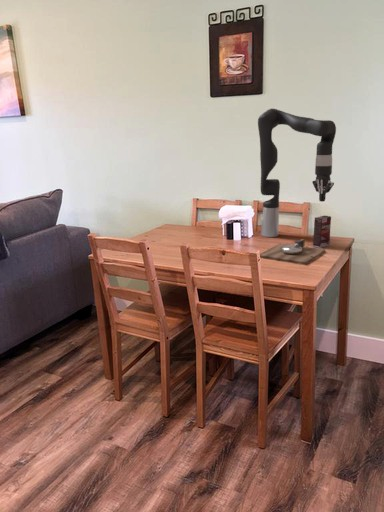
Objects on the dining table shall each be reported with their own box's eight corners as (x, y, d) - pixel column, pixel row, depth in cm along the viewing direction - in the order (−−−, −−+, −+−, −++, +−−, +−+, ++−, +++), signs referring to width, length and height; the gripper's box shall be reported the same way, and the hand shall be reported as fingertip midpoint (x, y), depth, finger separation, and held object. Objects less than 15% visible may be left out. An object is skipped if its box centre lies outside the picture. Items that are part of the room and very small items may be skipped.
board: (258, 257, 213) (258, 253, 212) (280, 245, 232) (280, 242, 231) (306, 264, 198) (306, 261, 198) (325, 251, 217) (325, 248, 217)
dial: (295, 255, 208) (296, 247, 207) (278, 251, 214) (278, 244, 213) (311, 248, 218) (311, 240, 217) (294, 245, 225) (294, 238, 224)
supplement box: (320, 248, 223) (321, 218, 219) (312, 246, 227) (313, 217, 222) (330, 245, 228) (331, 216, 224) (322, 243, 232) (323, 215, 227)
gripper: (339, 164, 196) (337, 202, 201) (320, 163, 208) (319, 198, 213) (327, 165, 193) (325, 203, 198) (308, 164, 205) (306, 200, 210)
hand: (322, 201), depth 205 cm, fingers closed
